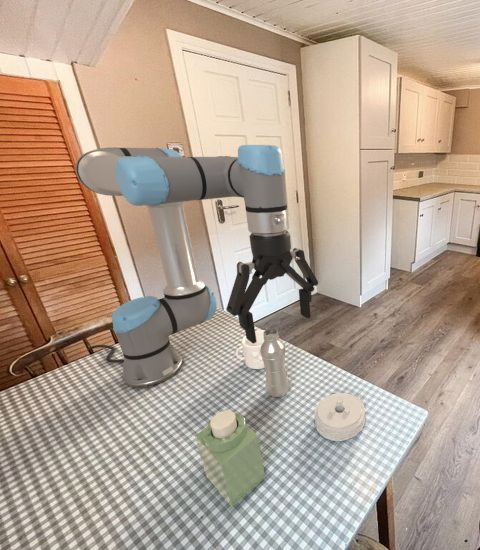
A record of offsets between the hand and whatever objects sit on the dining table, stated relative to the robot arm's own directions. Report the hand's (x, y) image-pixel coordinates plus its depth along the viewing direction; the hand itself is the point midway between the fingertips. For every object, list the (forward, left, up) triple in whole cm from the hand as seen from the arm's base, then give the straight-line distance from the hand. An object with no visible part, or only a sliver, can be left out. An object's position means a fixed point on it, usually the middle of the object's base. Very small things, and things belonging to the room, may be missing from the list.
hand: (280, 327), depth 66 cm
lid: (+9, +8, -28) cm, 31 cm away
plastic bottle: (-12, +5, -28) cm, 31 cm away
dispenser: (+1, -16, -28) cm, 32 cm away
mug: (-28, +9, -28) cm, 40 cm away
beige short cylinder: (+1, -16, -15) cm, 22 cm away
